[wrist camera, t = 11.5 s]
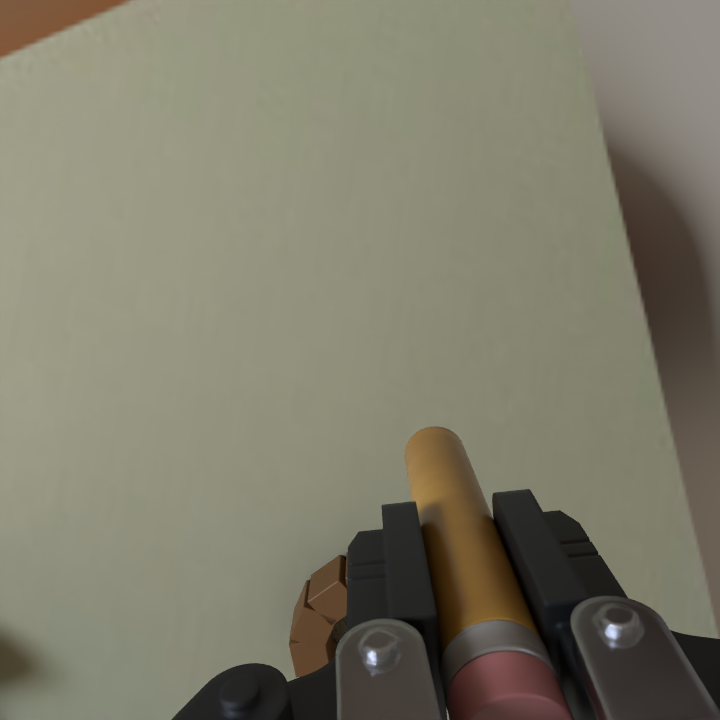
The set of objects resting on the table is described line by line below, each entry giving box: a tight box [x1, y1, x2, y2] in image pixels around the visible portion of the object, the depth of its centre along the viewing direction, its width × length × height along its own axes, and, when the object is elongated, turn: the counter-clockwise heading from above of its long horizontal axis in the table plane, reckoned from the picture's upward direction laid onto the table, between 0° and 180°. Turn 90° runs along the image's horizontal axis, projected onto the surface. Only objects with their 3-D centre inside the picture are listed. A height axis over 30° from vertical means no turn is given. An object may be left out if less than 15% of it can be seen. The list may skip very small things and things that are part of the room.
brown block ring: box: [289, 552, 348, 677], centre depth 35 cm, size 10×10×2 cm
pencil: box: [404, 427, 574, 720], centre depth 12 cm, size 2×2×9 cm
